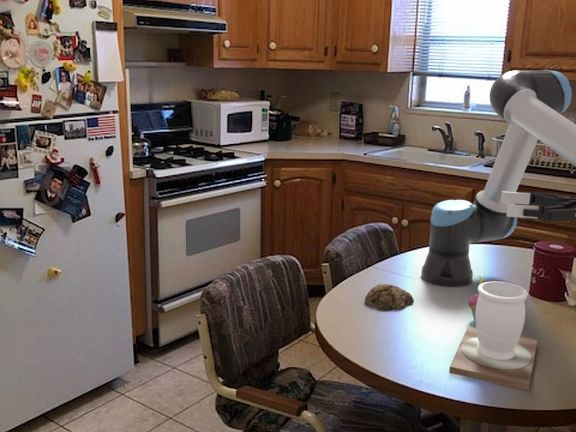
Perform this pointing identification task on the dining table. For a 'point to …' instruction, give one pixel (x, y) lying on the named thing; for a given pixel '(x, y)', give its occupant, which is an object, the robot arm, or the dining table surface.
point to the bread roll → (388, 298)
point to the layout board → (495, 362)
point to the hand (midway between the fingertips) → (504, 203)
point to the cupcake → (474, 301)
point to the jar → (499, 318)
